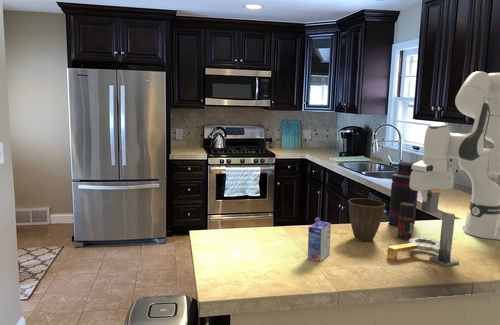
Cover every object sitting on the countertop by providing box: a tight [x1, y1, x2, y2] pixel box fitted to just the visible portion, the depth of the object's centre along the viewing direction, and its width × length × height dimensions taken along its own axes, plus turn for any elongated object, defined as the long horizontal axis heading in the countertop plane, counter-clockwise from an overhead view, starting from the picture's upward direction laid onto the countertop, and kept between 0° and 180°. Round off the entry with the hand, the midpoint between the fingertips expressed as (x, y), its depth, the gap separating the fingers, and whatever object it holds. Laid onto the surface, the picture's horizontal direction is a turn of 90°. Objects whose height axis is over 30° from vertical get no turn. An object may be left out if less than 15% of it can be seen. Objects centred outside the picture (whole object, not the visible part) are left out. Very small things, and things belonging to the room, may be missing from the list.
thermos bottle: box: [388, 161, 419, 227], centre depth 196 cm, size 14×12×30 cm
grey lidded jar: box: [421, 189, 441, 214], centre depth 161 cm, size 5×5×9 cm
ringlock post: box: [386, 212, 460, 267], centre depth 153 cm, size 23×18×18 cm
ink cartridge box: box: [307, 216, 332, 262], centre depth 152 cm, size 10×6×14 cm, turn 149°
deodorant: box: [396, 202, 415, 241], centre depth 177 cm, size 6×6×15 cm
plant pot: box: [348, 197, 386, 243], centre depth 174 cm, size 15×15×16 cm
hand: (430, 200), depth 161 cm, fingers closed on grey lidded jar, 4 cm apart
